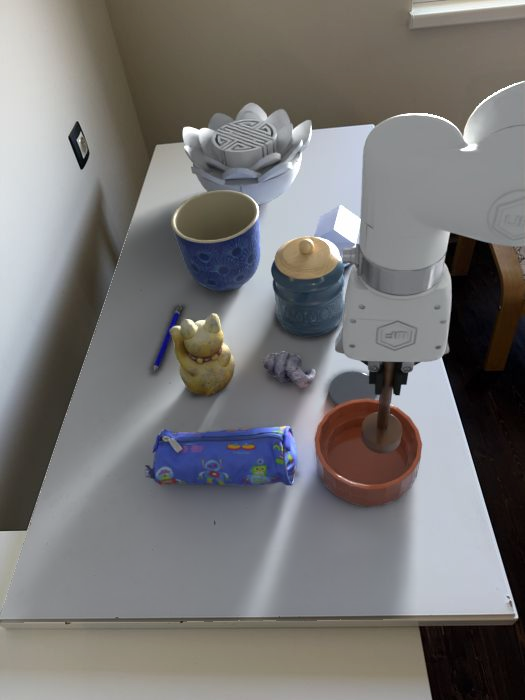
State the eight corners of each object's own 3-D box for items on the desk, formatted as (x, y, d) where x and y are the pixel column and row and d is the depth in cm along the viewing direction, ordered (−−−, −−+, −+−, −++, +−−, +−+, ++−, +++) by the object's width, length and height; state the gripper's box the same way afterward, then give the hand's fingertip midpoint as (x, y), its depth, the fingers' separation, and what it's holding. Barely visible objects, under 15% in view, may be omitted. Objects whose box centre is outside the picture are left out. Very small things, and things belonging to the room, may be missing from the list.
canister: (286, 345, 103) (278, 273, 90) (269, 300, 112) (260, 227, 99) (353, 329, 104) (355, 254, 91) (331, 285, 113) (330, 211, 100)
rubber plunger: (409, 437, 71) (424, 354, 59) (381, 460, 70) (391, 379, 57) (380, 414, 74) (389, 329, 62) (353, 435, 72) (356, 352, 60)
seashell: (316, 387, 98) (265, 372, 101) (322, 358, 96) (270, 343, 100) (305, 394, 93) (252, 377, 97) (311, 363, 92) (257, 348, 95)
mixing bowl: (438, 466, 84) (444, 444, 79) (366, 529, 79) (367, 510, 74) (365, 405, 93) (367, 382, 88) (296, 458, 87) (293, 437, 83)
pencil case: (154, 496, 85) (137, 464, 78) (163, 447, 91) (148, 414, 84) (298, 496, 83) (294, 464, 76) (298, 446, 89) (295, 411, 81)
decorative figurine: (231, 359, 102) (218, 299, 91) (244, 392, 97) (232, 333, 86) (180, 375, 101) (160, 317, 90) (191, 410, 96) (172, 352, 84)
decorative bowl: (164, 203, 138) (148, 147, 127) (244, 150, 152) (236, 95, 141) (254, 246, 124) (246, 187, 112) (334, 182, 137) (334, 124, 126)
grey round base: (387, 392, 94) (387, 390, 93) (352, 419, 91) (352, 417, 91) (353, 366, 98) (353, 363, 98) (319, 390, 96) (319, 388, 95)
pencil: (178, 308, 113) (177, 304, 112) (182, 308, 113) (181, 304, 112) (152, 372, 102) (151, 369, 101) (157, 373, 102) (156, 369, 101)
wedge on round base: (320, 229, 125) (308, 267, 117) (319, 203, 120) (307, 241, 112) (360, 232, 123) (351, 270, 115) (361, 206, 118) (352, 244, 110)
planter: (283, 270, 117) (277, 209, 106) (223, 315, 110) (210, 254, 99) (228, 240, 126) (218, 180, 115) (170, 279, 119) (153, 219, 108)
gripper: (311, 288, 49) (317, 410, 63) (498, 288, 47) (461, 414, 60) (315, 235, 54) (319, 359, 67) (485, 233, 52) (453, 361, 65)
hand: (386, 384), depth 64 cm, fingers closed on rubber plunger, 1 cm apart
